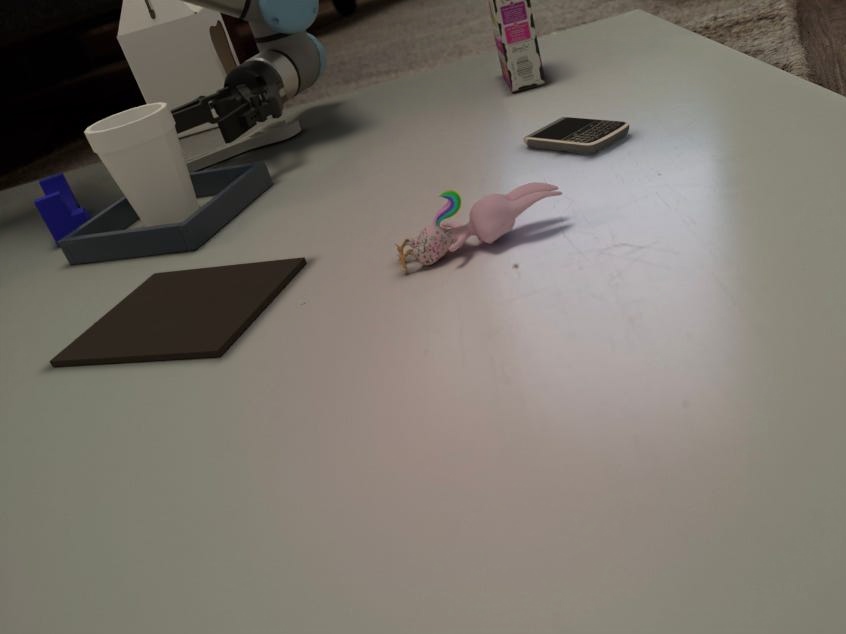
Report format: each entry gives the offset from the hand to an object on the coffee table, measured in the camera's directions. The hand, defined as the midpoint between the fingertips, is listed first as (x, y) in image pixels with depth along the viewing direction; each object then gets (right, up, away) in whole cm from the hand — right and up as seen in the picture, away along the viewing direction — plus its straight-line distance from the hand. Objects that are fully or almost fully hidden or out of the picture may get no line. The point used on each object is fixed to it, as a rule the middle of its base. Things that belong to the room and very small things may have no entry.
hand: (177, 140), depth 102 cm
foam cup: (0, -10, -1) cm, 10 cm away
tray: (0, -10, -1) cm, 10 cm away
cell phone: (+47, -3, -12) cm, 49 cm away
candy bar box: (+43, +12, +15) cm, 47 cm away
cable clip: (-16, -9, +8) cm, 20 cm away
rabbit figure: (+37, -17, -28) cm, 50 cm away
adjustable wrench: (-1, +2, +20) cm, 20 cm away
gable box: (-11, +17, +48) cm, 52 cm away
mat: (+10, -22, -25) cm, 35 cm away
